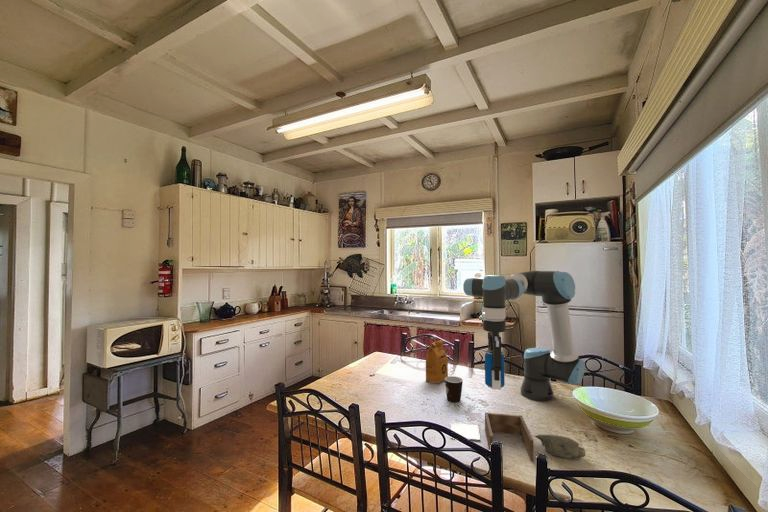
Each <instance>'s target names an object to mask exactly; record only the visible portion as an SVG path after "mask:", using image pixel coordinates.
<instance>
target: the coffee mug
mask: <svg viewBox="0 0 768 512" xmlns="http://www.w3.org/2000/svg"><path fill="white" fill-rule="evenodd" d="M463 381H464V380H463V378H462V377H459V376H454V375H452V376H451V375H450V376H449V375H448V377H446V378H445V380H444V384H445V393H446V401H447V402H449V403H452V404H457V403H458V404H459V403H461V398H462V391H463Z"/></svg>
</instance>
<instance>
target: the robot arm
mask: <svg viewBox="0 0 768 512" xmlns="http://www.w3.org/2000/svg"><path fill="white" fill-rule="evenodd" d="M462 285H463V286H462V287H463V292H464V294H465V295H466V296H468V297H469V296H470V297H473V298H474V297H476V298H477V297H479V298H482V302H483V303H482V308H483V309H481V310H480V313H482V317H483V320H482V329H483V330H484V332H487V339H488V342H487V350H491V351H492V364H493V368H492V369H491V370H492V388H491V389H492V390H498V391H499V390H502V388H501V371H502V360H501V351H502V337H501V335H500V333H504V332H506V327H507V326H506V320H505V319H506V318H507V317H506V315H507V312H506V310H507V307H506V301H510V300H511V301H512V300H513V301H514V300H517V299H519V298H520V297H521V296H523V295H528V296H533V297H534V296H536V297H541V299H542V303H543V304H545V305H546V308H547V310H546V311H547V316H548V323H549V329H550V336H551V337H550V338H551V342H552V351H550V349H549V348H546V347H529V348H526V349H525V350H524V354H523V355H524V356H523V369H524V370H523V372H524V373H523V374H524V375H523V376H524V377H523V381H522V383H521V386H520V394H521V395H522V396H523V397H525V398H527V399H528V400H533V401H540V402H549V400H550V401H552V399H553V398H554V397H555V393H554V390H553V387H552V384H551V382H550V381H551V379H552V380H557V381H559V382H563V383H566V384H571V385H579V384H580V383H581V382H582V380H583V378H584V375H585V372H586V371H585V369H586V362H585V360H584V359H581V358H580V357H579V356H580V355H579V353H578V352H577V351H575V349H574V339H573V333H572V326H571V324H572V323H571V317H570V309H569V303H570V302H572V299H573V298H574V297H575V295H576V283H575V281H574V278H573V276H572V275H571V274H570V273H569V272H566V271H559V270H557V271H556V270H552V271H551V270H529V271H528V270H527V271H523V272H516V273H515V272H514V273H512V274H511V275H501V274H488V275H484V276H483V277H467V278H466V279H465V280H464V282H463V284H462ZM490 353H491V352H490ZM553 400H554V399H553Z"/></svg>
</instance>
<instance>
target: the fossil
mask: <svg viewBox="0 0 768 512" xmlns="http://www.w3.org/2000/svg"><path fill="white" fill-rule="evenodd" d="M535 438H537V440H539V441H540V443H541V445H542V446H543V447H544V449H545V450H546V452H548V453H550V454H551V455H552V456H557V457H561V458H565V459H580V458H584V457H585V456H586V450H585V449H584V447H580V443H579V442H577V441H576V440H574V439H571V438H569V437H566V436H562V435H557V434H547V433H545V434H537V435H536V436H535Z"/></svg>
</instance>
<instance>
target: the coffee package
mask: <svg viewBox="0 0 768 512" xmlns="http://www.w3.org/2000/svg"><path fill="white" fill-rule="evenodd" d="M443 344H444V340H443V339H440V340H438V341H433V342H432V343H430V345H429V348H428V349H427V351H426V354H425V381H426V382H430V383H433V384H439V383H441V382H445V378H446V377H449V366H448V365H449V360H448V355H447V353H446V351H445V349H444V347H443Z"/></svg>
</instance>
